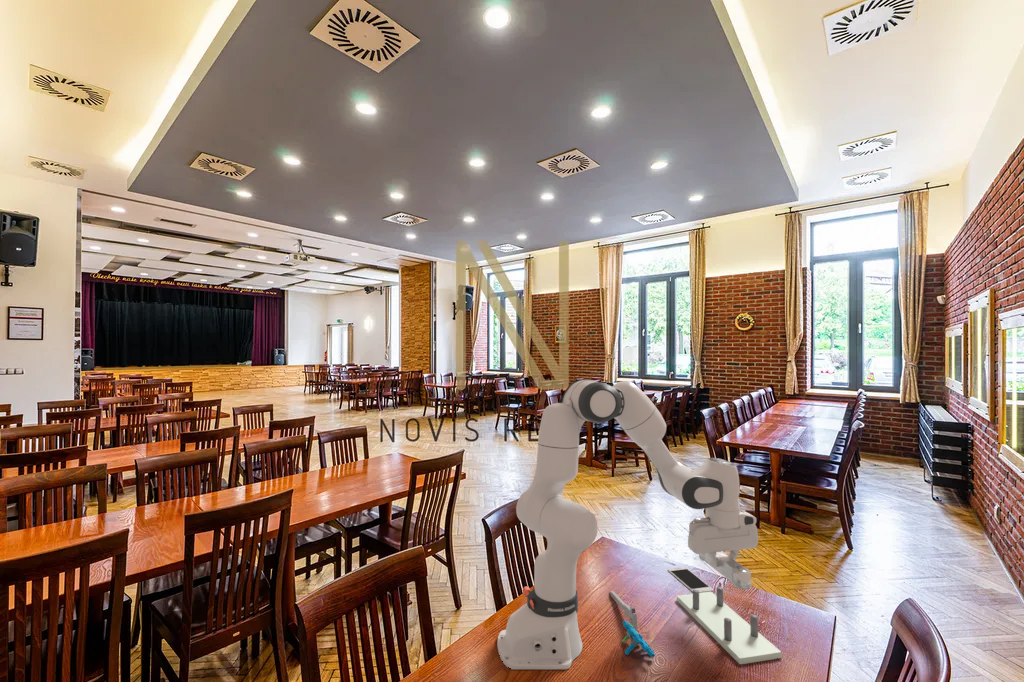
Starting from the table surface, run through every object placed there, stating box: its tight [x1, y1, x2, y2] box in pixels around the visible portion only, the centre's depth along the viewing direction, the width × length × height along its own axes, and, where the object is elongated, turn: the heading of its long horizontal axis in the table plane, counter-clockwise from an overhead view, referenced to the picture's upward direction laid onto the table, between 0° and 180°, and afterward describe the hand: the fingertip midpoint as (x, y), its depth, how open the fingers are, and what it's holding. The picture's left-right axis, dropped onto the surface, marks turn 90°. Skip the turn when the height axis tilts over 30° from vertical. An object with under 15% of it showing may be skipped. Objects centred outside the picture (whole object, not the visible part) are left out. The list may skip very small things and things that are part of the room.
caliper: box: [608, 590, 638, 632], centre depth 130 cm, size 20×1×6 cm, turn 7°
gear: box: [621, 619, 656, 658], centre depth 113 cm, size 11×6×10 cm
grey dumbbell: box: [698, 551, 752, 590], centre depth 123 cm, size 4×19×4 cm, turn 11°
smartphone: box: [667, 566, 714, 593], centre depth 147 cm, size 7×16×1 cm, turn 13°
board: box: [676, 586, 783, 665], centre depth 123 cm, size 12×28×6 cm, turn 11°
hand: (723, 565), depth 123 cm, fingers closed on grey dumbbell, 3 cm apart
